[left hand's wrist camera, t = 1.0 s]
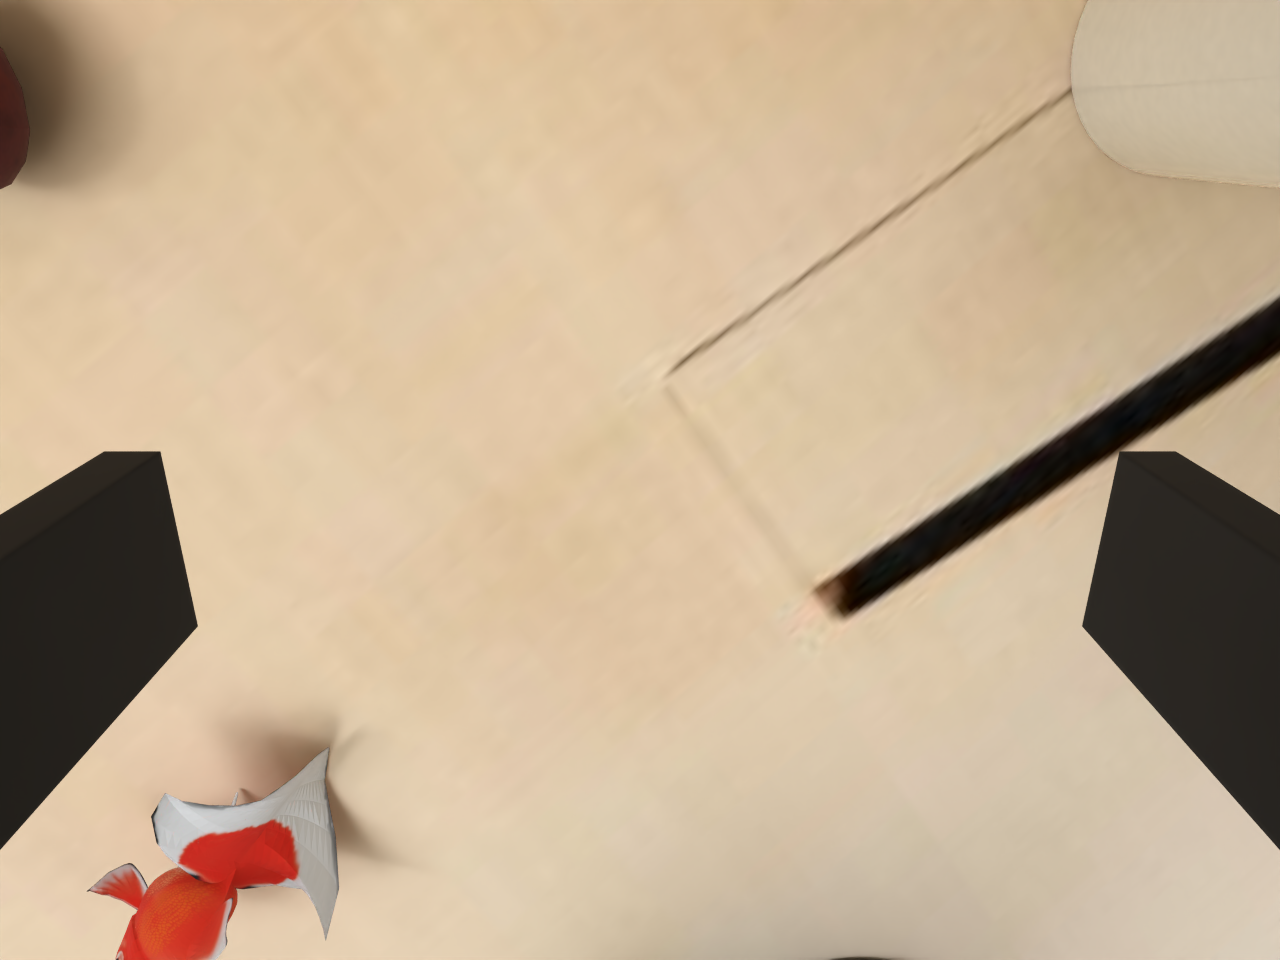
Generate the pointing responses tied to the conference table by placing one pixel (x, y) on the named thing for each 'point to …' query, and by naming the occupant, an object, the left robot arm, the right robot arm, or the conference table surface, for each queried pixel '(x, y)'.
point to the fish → (227, 866)
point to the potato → (11, 124)
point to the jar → (1182, 87)
